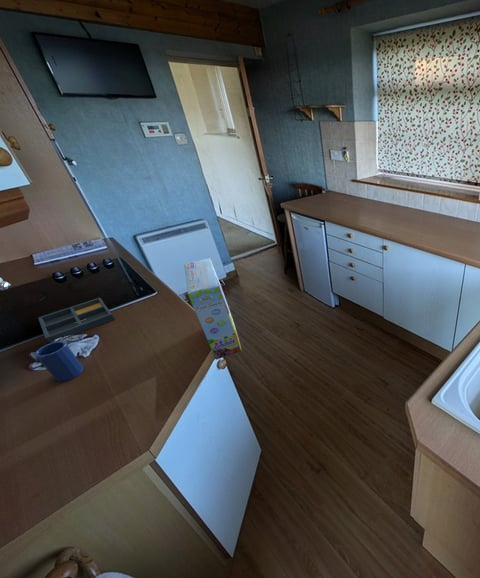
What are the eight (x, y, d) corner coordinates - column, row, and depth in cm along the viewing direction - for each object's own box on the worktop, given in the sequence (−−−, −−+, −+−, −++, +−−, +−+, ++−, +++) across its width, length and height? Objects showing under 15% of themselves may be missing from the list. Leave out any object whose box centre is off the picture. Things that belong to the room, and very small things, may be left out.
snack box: (206, 325, 107) (182, 262, 94) (232, 317, 111) (212, 256, 98) (213, 361, 92) (185, 292, 78) (243, 351, 96) (221, 284, 83)
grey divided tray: (49, 344, 98) (45, 338, 97) (42, 323, 107) (37, 317, 106) (115, 319, 110) (111, 314, 108) (103, 302, 119) (99, 297, 118)
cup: (57, 385, 84) (36, 359, 78) (54, 374, 87) (33, 349, 82) (86, 372, 88) (67, 347, 82) (81, 362, 91) (63, 338, 86)
